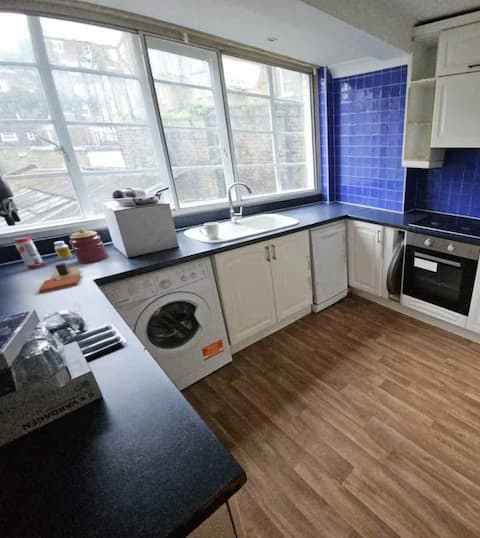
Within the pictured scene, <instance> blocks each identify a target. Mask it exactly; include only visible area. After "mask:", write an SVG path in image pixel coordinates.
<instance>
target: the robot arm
mask: <svg viewBox="0 0 480 538" xmlns="http://www.w3.org/2000/svg"><path fill="white" fill-rule="evenodd" d="M13 197H14V194H13V191H12V189H11V188H10V185H9V184H8V181H7V180H6V179H5V177H4V176H3V173H2V171H1V170H0V218H2V219H4V221H5V222H6V225H7V226H8V227H12V226H16V223H20V222H21V218H20V216H19V214H18V213H19V209H18V208H17V206H16V204H15V202H14V200H13Z"/></svg>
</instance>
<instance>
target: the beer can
mask: <svg viewBox="0 0 480 538" xmlns="http://www.w3.org/2000/svg"><path fill="white" fill-rule="evenodd" d="M13 244H14V245H15V248H16V249H17V251H18V253H19V254H20V256H21V258H22V261H23V262H24V264H25V266H26V268H27V269H30V270H35V269H39V268H42V267H44V265H45V263H44V261H43V258H42V256H41V255H40V253H39V251H38V249H37V247H36V245H35V243H34V241H33V239H31V237H30V236H21V237H20V236H19V237H16V238H14V243H13Z"/></svg>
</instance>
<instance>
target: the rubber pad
mask: <svg viewBox="0 0 480 538" xmlns="http://www.w3.org/2000/svg"><path fill="white" fill-rule="evenodd" d="M80 278H81V275H80V273H78V274H75V275H71V276H69V278H68V279H63V280H58V281H56V279H51V278H50V279H51V280H50V279H46V280H44V281H43V283H42V284H41V286H40V287H39V289H38V292H39V294H42V293H47V292H52V291H57V290H61V289H65V288H71V287H74V286H75V287H76V286H78V283H79V281H80Z"/></svg>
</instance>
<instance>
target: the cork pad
mask: <svg viewBox="0 0 480 538" xmlns="http://www.w3.org/2000/svg"><path fill="white" fill-rule="evenodd" d="M54 266H55V269H56V271H57V272H54V273H53V274H52V275H51V276H50V278H49V280H51V279H56V281H58V280H63V279H68V278H69V276H71V275H75V274H80V270H79V268H74V269H68V266H67V265H66V262H60V263H56V264H55V265H54Z"/></svg>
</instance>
